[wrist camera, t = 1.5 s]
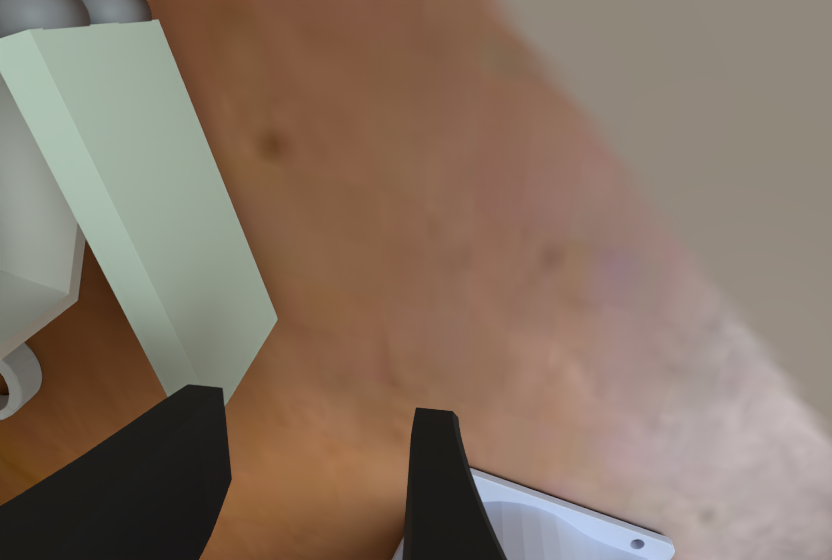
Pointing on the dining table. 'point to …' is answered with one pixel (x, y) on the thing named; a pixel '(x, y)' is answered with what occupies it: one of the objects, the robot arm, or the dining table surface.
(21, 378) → the bracket
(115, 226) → the cabinet door
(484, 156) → the dining table surface
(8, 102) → the cabinet
